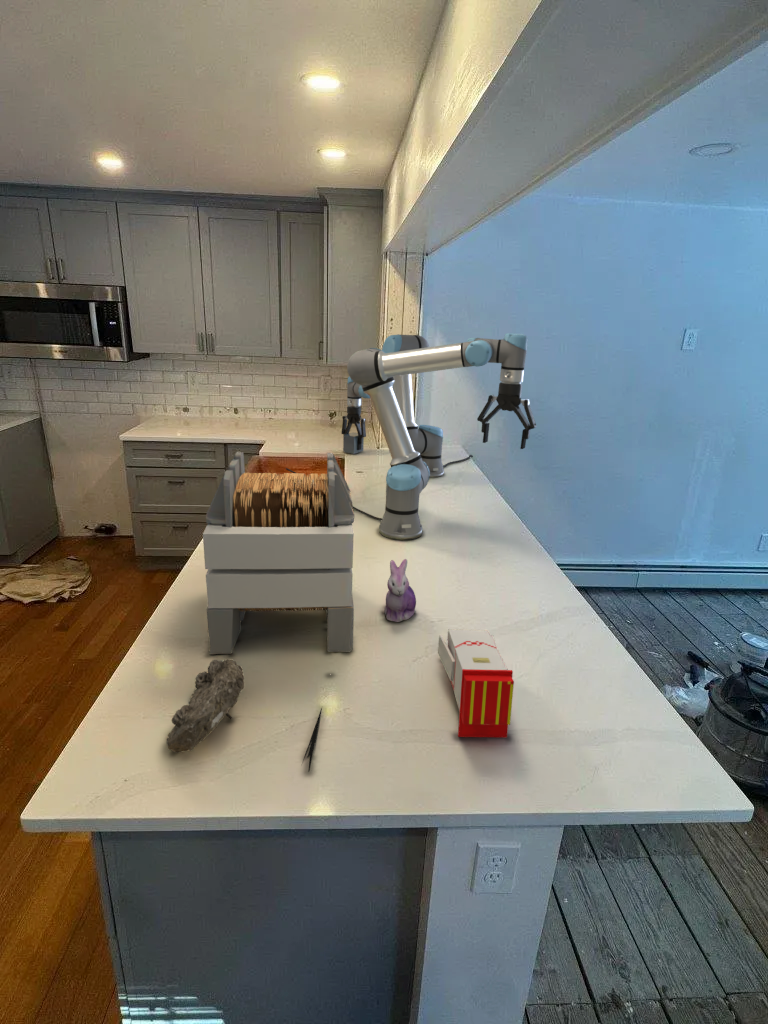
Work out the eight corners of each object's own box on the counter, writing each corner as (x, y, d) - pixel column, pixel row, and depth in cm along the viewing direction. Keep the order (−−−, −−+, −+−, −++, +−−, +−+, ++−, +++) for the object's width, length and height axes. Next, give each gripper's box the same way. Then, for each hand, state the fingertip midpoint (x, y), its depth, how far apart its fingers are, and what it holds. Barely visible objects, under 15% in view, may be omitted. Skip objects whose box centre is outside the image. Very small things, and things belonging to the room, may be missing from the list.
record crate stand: (229, 585, 158) (221, 442, 144) (346, 584, 161) (350, 444, 148) (206, 656, 126) (193, 481, 112) (353, 652, 130) (358, 483, 116)
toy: (488, 613, 130) (523, 677, 101) (484, 667, 133) (517, 744, 104) (435, 612, 130) (455, 676, 101) (432, 666, 133) (451, 743, 103)
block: (343, 451, 306) (343, 434, 303) (352, 449, 314) (353, 432, 311) (353, 453, 303) (354, 436, 300) (363, 450, 310) (363, 434, 307)
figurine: (392, 627, 141) (395, 572, 136) (374, 608, 149) (376, 556, 144) (425, 619, 145) (429, 566, 140) (405, 601, 154) (408, 550, 149)
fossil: (192, 660, 117) (244, 628, 112) (224, 691, 120) (276, 661, 115) (142, 746, 98) (202, 712, 93) (182, 779, 101) (242, 748, 96)
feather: (331, 679, 122) (336, 673, 122) (307, 777, 96) (313, 769, 95) (324, 675, 122) (329, 669, 121) (298, 772, 95) (304, 764, 95)
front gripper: (471, 379, 191) (465, 441, 198) (544, 387, 179) (535, 453, 186) (480, 377, 197) (474, 437, 204) (551, 385, 185) (542, 448, 192)
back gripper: (334, 404, 302) (334, 447, 309) (366, 409, 292) (364, 452, 300) (342, 403, 308) (342, 444, 316) (373, 407, 298) (372, 450, 306)
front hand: (503, 445), depth 195 cm, fingers open, 13 cm apart
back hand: (353, 448), depth 308 cm, fingers closed on block, 7 cm apart
